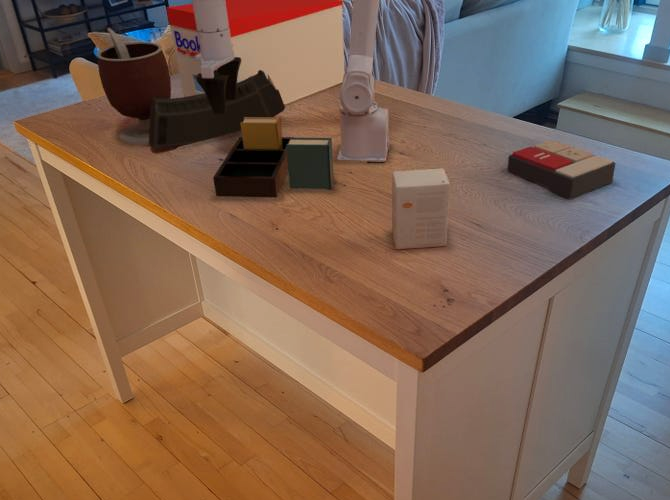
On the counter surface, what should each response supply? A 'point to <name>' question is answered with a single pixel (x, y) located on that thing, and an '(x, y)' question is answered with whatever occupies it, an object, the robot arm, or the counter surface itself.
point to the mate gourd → (134, 82)
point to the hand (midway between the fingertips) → (225, 106)
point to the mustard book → (262, 133)
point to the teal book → (310, 163)
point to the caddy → (252, 171)
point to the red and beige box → (562, 168)
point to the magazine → (211, 113)
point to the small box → (420, 208)
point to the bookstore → (270, 44)
